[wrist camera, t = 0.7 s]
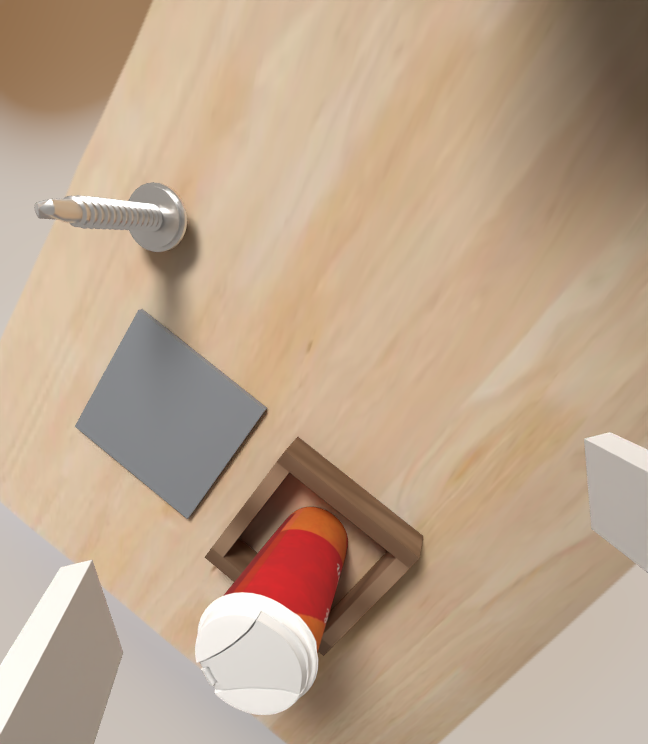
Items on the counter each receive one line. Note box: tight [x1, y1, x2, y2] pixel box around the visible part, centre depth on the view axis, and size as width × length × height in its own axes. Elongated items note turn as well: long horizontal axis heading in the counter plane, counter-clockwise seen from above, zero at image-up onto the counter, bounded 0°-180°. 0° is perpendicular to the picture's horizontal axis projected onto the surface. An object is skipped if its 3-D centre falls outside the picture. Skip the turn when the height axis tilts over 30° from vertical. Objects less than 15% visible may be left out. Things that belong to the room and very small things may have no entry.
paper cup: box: [195, 507, 348, 715], centre depth 36 cm, size 8×8×14 cm
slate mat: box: [75, 309, 267, 519], centre depth 44 cm, size 13×13×1 cm
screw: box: [35, 182, 187, 252], centre depth 34 cm, size 13×5×5 cm
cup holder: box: [205, 437, 423, 656], centre depth 42 cm, size 12×12×3 cm
